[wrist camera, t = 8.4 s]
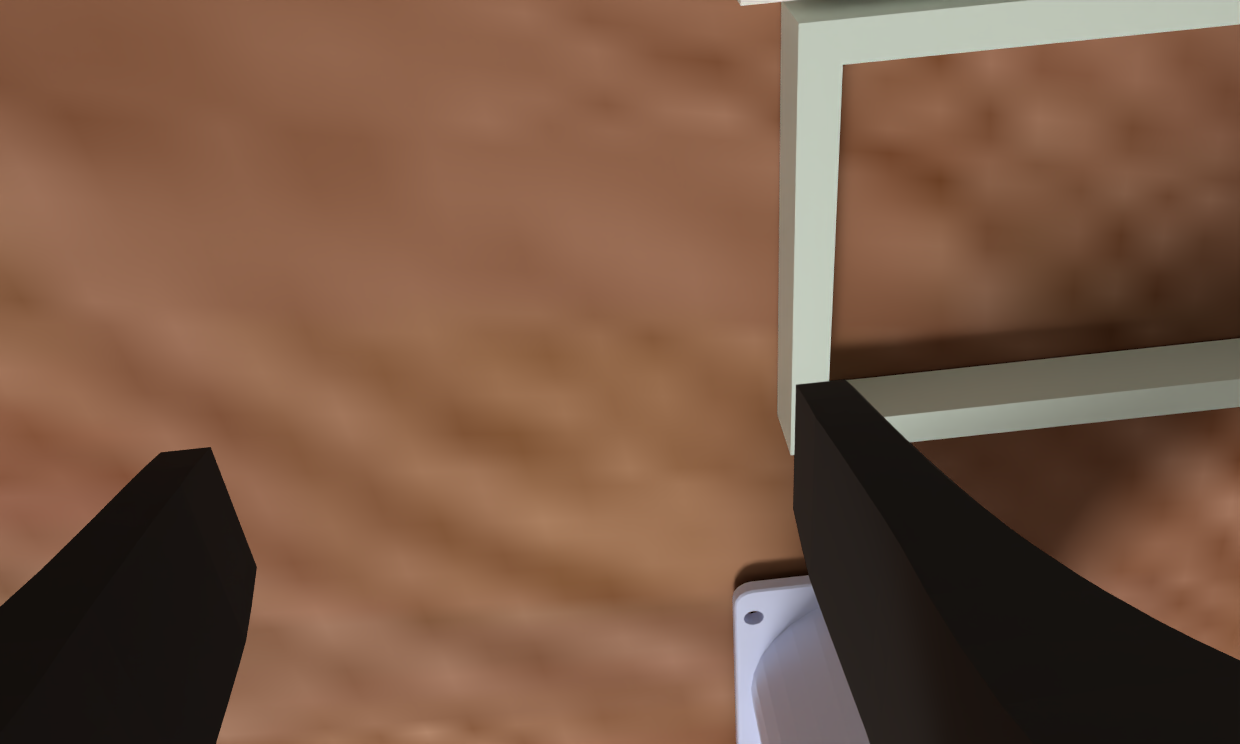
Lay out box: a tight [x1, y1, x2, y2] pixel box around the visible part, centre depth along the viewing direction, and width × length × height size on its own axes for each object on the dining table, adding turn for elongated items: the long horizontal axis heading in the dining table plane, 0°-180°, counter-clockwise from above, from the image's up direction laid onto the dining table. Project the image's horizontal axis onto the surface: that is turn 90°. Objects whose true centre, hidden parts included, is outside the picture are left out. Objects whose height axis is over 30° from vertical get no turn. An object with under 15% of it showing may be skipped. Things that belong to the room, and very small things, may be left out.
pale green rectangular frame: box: [777, 0, 1240, 455], centre depth 22 cm, size 10×14×2 cm
